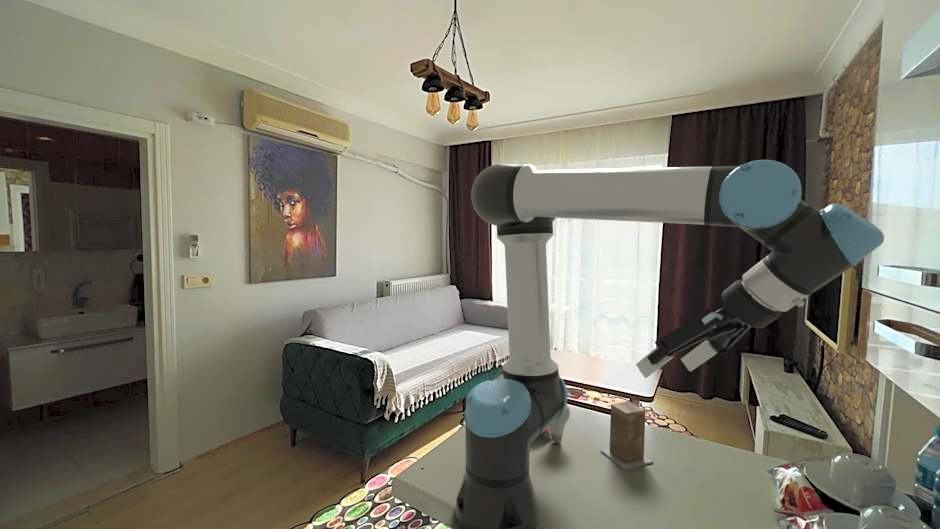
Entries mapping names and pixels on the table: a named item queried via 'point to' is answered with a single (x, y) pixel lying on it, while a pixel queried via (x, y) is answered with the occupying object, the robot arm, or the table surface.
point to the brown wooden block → (627, 432)
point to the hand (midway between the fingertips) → (664, 367)
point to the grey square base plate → (628, 465)
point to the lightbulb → (559, 426)
